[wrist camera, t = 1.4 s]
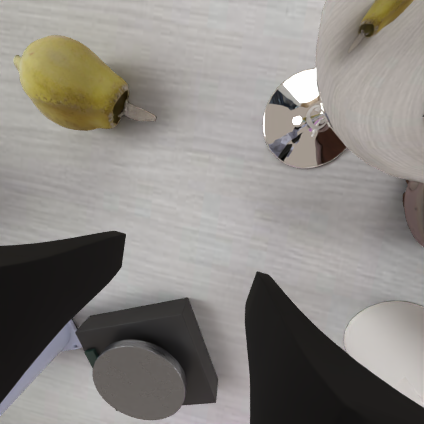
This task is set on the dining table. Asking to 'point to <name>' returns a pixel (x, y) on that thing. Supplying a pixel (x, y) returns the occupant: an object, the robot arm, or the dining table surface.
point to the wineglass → (356, 91)
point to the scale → (158, 341)
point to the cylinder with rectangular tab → (391, 345)
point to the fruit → (74, 85)
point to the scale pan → (140, 379)
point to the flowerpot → (415, 209)
